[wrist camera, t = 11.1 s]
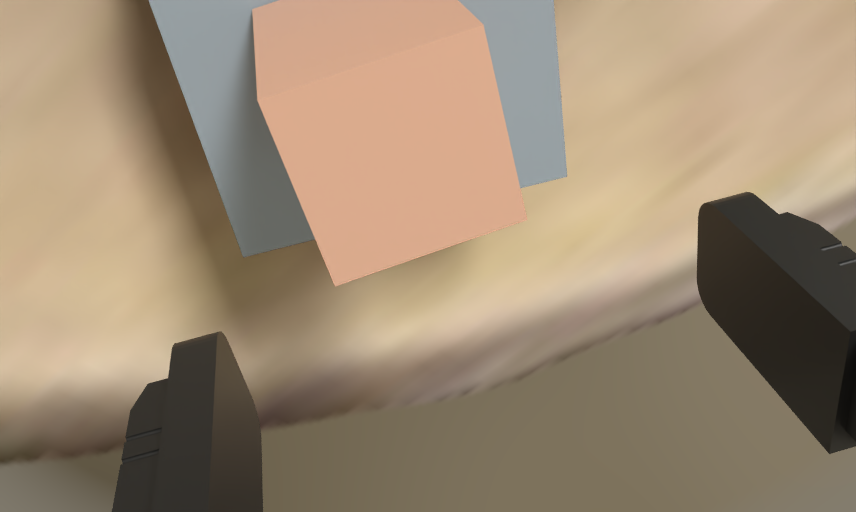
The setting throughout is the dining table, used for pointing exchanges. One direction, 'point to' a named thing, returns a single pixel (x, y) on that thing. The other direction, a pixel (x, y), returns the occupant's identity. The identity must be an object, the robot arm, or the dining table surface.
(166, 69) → the dining table surface
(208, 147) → the tower top
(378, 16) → the terracotta block
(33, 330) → the dining table surface
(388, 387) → the dining table surface
